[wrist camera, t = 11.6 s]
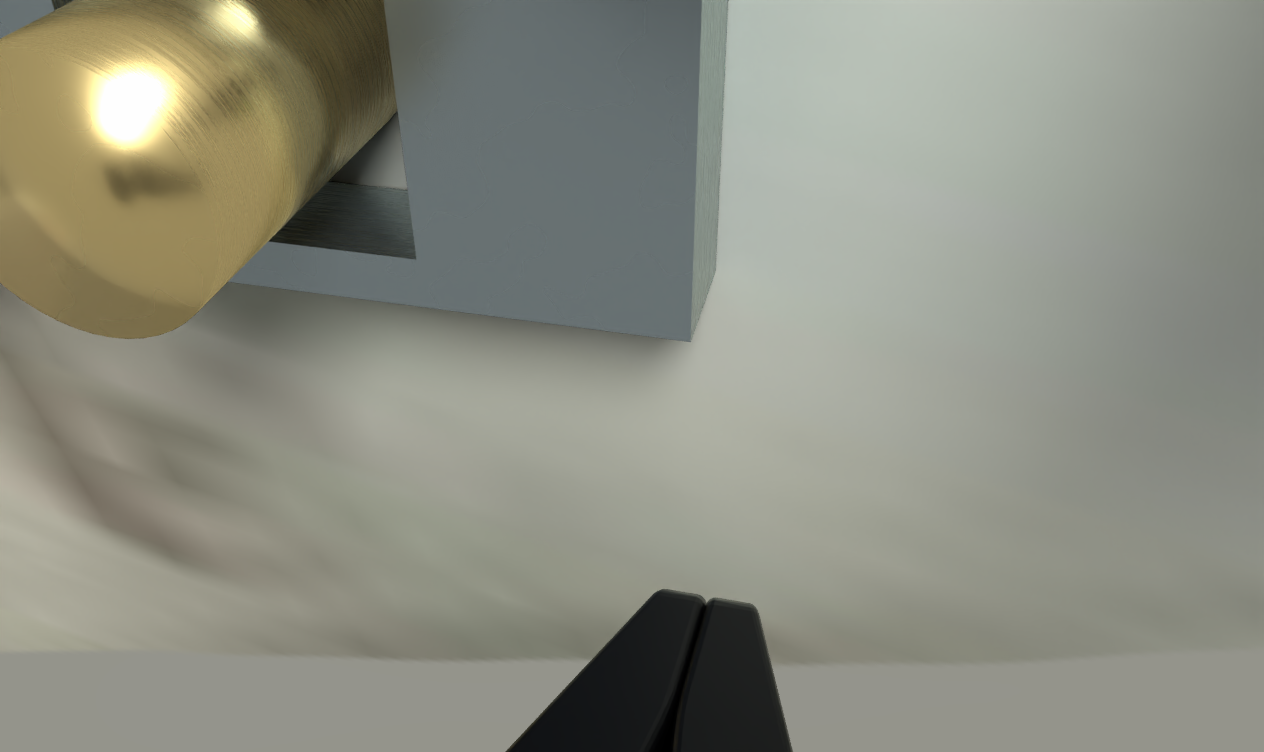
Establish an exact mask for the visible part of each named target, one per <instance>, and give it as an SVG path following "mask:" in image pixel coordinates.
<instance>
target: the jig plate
mask: <svg viewBox="0 0 1264 752" xmlns="http://www.w3.org/2000/svg"><path fill="white" fill-rule="evenodd" d="M72 1H74V0H0V39H1V38H3V37H4V36H6V35H8V34H10V33H12V32H14V31H16V30H18V29H20V28H22V27H24V26H26V25H28V24H29V23H31V22H33V21H35V20H37V19H39V18H41V17H43V16H45V15H47V14H49V13H51V12H53V11H54V10H56V9H58V8H60V7H62V6H64V5H66V4H68V3H70V2H72ZM384 8H385V16H386V24H387V31H388V39H389V47H390V55H391V63H392V71H393V79H394V86H395V94H396V102H397V110H398V118H399V126H400V134H401V141H402V149H403V157H404V165H405V173H406V181H407V189H408V190H400V189H391V188H382V187H373V186H364V185H355V184H346V183H337V182H327V183H326V184H325V185H324V186H323V187H322V188H321V189H320V190H319V191H318V192H317V193H316V194H315V195H314V196H313V197H312V198H311V199H310V200H309V201H308V202H307V203H306V204H305V205H304V206H303V207H302V208H301V209H300V210H299V211H298V212H297V213H296V214H295V215H294V216H293V217H292V218H291V219H290V220H289V221H288V222H287V223H286V224H285V225H284V226H283V227H282V228H281V229H280V230H279V231H278V232H277V233H276V234H275V235H274V236H273V237H272V238H271V239H270V240H269V241H268V242H267V243H266V244H265V245H264V246H263V247H262V248H261V249H260V250H259V251H258V252H257V253H256V254H255V255H254V256H253V257H252V258H251V259H250V260H249V261H248V262H247V263H246V264H245V265H244V266H243V267H242V268H241V269H240V270H239V271H238V272H237V273H236V274H235V275H234V276H233V277H232V278H231V279H230V280H229V281H228V282H234V283H242V284H249V285H257V286H265V287H272V288H280V289H288V290H295V291H303V292H311V293H318V294H326V295H334V296H341V297H349V298H357V299H364V300H372V301H380V302H387V303H395V304H403V305H410V306H418V307H426V308H433V309H441V310H449V311H456V312H464V313H472V314H480V315H487V316H495V317H503V318H510V319H518V320H526V321H533V322H541V323H549V324H556V325H564V326H572V327H579V328H587V329H595V330H602V331H610V332H618V333H625V334H633V335H641V336H648V337H656V338H664V339H671V340H679V341H687V342H691V340H692V337H693V334H694V331H695V328H696V325H697V322H698V320H699V317H700V314H701V311H702V308H703V305H704V302H705V300H706V297H707V294H708V291H709V288H710V285H711V282H712V279H713V277H714V274H715V271H716V250H717V228H718V207H719V185H720V163H721V141H722V120H723V98H724V76H725V54H726V33H727V11H728V0H384Z"/></svg>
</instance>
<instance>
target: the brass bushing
mask: <svg viewBox="0 0 1264 752" xmlns="http://www.w3.org/2000/svg"><path fill="white" fill-rule="evenodd" d="M396 111H397V102H396V94H395V86H394V79H393V71H392V63H391V55H390V47H389V39H388V31H387V24H386V16H385V8H384V0H74V1H72V2H70V3H68V4H66V5H64V6H62V7H60V8H58V9H56V10H54V11H53V12H51V13H49V14H47V15H45V16H43V17H41V18H39V19H37V20H35V21H33V22H31V23H29V24H28V25H26V26H24V27H22V28H20V29H18V30H16V31H14V32H12V33H10V34H8V35H6V36H4V37H3V38H1V39H0V283H1V284H3V285H4V286H5V287H6V288H7V289H9V290H10V291H11V292H12V293H14V294H15V295H16V296H18V297H19V298H20V299H22V300H23V301H25V302H26V303H28V304H29V305H31V306H32V307H34V308H36V309H37V310H39V311H40V312H42V313H44V314H46V315H48V316H50V317H52V318H54V319H55V320H57V321H60V322H62V323H64V324H67V325H69V326H72V327H74V328H77V329H80V330H83V331H86V332H89V333H92V334H97V335H102V336H107V337H113V338H124V339H135V338H147V337H152V336H158V335H161V334H164V333H167V332H169V331H172V330H174V329H176V328H178V327H179V326H181V325H183V324H184V323H186V322H187V321H188V320H189V319H190V318H192V317H193V316H194V315H195V314H196V313H197V312H198V311H199V310H200V309H201V308H202V307H203V306H204V305H205V304H206V303H207V302H208V301H209V300H210V299H211V298H212V297H213V296H214V295H215V294H216V293H217V292H218V291H219V290H220V289H221V288H222V287H223V286H224V285H225V284H226V283H227V282H228V281H229V280H230V279H231V278H232V277H233V276H234V275H235V274H236V273H237V272H238V271H239V270H240V269H241V268H242V267H243V266H244V265H245V264H246V263H247V262H248V261H249V260H250V259H251V258H252V257H253V256H254V255H255V254H256V253H257V252H258V251H259V250H260V249H261V248H262V247H263V246H264V245H265V244H266V243H267V242H268V241H269V240H270V239H271V238H272V237H273V236H274V235H275V234H276V233H277V232H278V231H279V230H280V229H281V228H282V227H283V226H284V225H285V224H286V223H287V222H288V221H289V220H290V219H291V218H292V217H293V216H294V215H295V214H296V213H297V212H298V211H299V210H300V209H301V208H302V207H303V206H304V205H305V204H306V203H307V202H308V201H309V200H310V199H311V198H312V197H313V196H314V195H315V194H316V193H317V192H318V191H319V190H320V189H321V188H322V187H323V186H324V185H325V184H326V183H327V182H328V181H329V180H330V179H331V178H332V177H333V176H334V175H335V174H336V173H337V172H338V171H339V170H340V169H341V168H342V167H343V166H344V165H345V164H346V163H347V162H348V161H349V160H350V159H351V158H352V157H353V156H354V155H355V154H356V153H357V152H358V151H359V150H360V149H361V148H362V147H363V146H364V145H365V144H366V143H367V142H368V141H369V140H370V139H371V138H372V137H373V136H374V135H375V134H376V133H377V132H378V131H379V130H380V129H381V128H382V127H383V126H384V125H385V124H386V123H387V122H388V121H389V120H390V119H391V117H392V116H393V115H394V114H395V112H396Z"/></svg>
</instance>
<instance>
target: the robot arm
mask: <svg viewBox="0 0 1264 752" xmlns="http://www.w3.org/2000/svg"><path fill="white" fill-rule="evenodd" d="M506 752H793V751H792V747H791V743H790V739H789V734H788V730H787V726H786V722H785V718H784V714H783V710H782V706H781V702H780V698H779V694H778V689H777V686H776V682H775V677H774V673H773V669H772V665H771V661H770V657H769V653H768V649H767V645H766V641H765V637H764V633H763V628H762V624H761V620H760V616H759V613H758V610H757V609H756V607H755V606H754V605H753V604H750V603H745V602H739V601H733V600H727V599H721V598H712V599H710V600H709V601H708V602H707V603H706V601H705V599H704V598H703V597H702V596H700V595H698V594H692V593H686V592H680V591H674V590H668V589H662V590H659V591H657V592H655V593H654V594H653V595H652V596H651V597H650V598H649V599H648V600H647V601H646V602H645V603H644V604H643V606H642V607H641V608H640V609H639V610H638V611H637V612H636V613H635V614H634V615H633V616H632V617H631V618H630V619H629V621H628V622H627V623H626V624H625V625H624V626H623V627H622V628H621V629H620V630H619V631H618V632H617V633H616V634H615V635H614V637H613V638H612V639H611V640H610V641H609V642H608V643H607V644H606V645H605V646H604V647H603V648H602V649H601V650H600V651H599V653H598V654H597V655H596V656H595V657H594V658H593V659H592V660H591V661H590V662H589V663H588V664H587V665H586V666H585V667H584V669H583V670H582V671H581V672H580V673H579V674H578V675H577V676H576V677H575V678H574V679H573V680H572V682H570V683H569V685H568V686H567V687H566V688H565V689H564V690H563V691H562V692H561V693H560V694H559V695H558V696H557V697H556V698H555V699H554V701H553V702H552V703H551V704H550V705H549V706H548V707H547V708H546V709H545V710H544V711H543V712H542V713H541V714H540V715H539V717H538V718H537V719H536V720H535V721H534V722H533V723H532V724H531V725H530V726H529V727H528V728H527V730H525V732H524V733H523V734H522V735H521V736H520V737H519V738H518V739H517V740H516V741H515V742H514V743H513V744H512V745H511V746H510V748H509V749H508V750H507V751H506Z"/></svg>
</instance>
